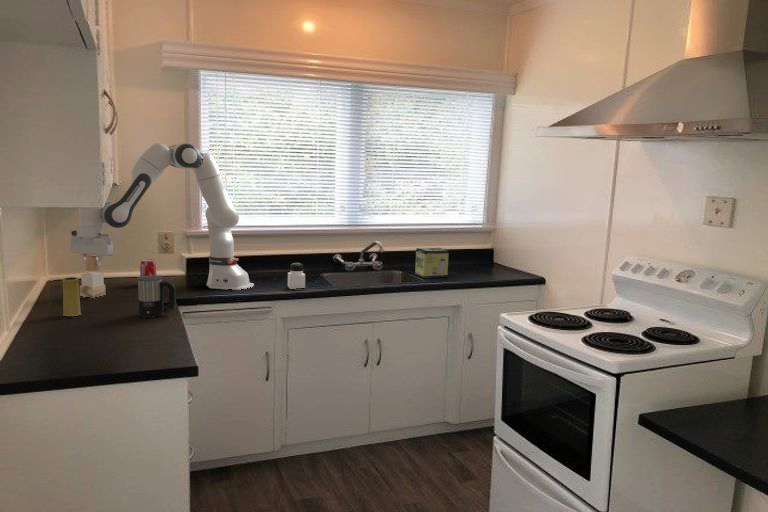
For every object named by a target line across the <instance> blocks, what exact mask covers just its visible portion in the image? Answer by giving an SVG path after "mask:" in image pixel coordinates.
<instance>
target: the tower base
mask: <svg viewBox="0 0 768 512" xmlns="http://www.w3.org/2000/svg"><path fill="white" fill-rule="evenodd" d="M106 292H107V291H106V284H104V285H100V286H95V287H88V286H82V284H81V285H80V284H79V296H83V297H82V298H85V297H91V298H90V299H92V298H94V299H96V298H95V297H98V298H100V297H99V296H102V297H104V296H103V295H107V294H106Z"/></svg>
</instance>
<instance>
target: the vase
mask: <svg viewBox="0 0 768 512" xmlns="http://www.w3.org/2000/svg"><path fill="white" fill-rule="evenodd" d="M79 280H80V279H79V277H76V276H75V277H74V276H70V277H63V278H62V297H63V298H62V299H63V300H62V301H63V303H62V306H63V309H62V310H63V311H62V312H63V313H62V317H63V316H78V315H82V312H81V300H80V299H81V297H80V283H79V282H80V281H79Z"/></svg>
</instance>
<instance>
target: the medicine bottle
mask: <svg viewBox="0 0 768 512" xmlns="http://www.w3.org/2000/svg"><path fill="white" fill-rule="evenodd" d="M289 266H290V268H289V269H290V270H289V271H290V272H287V287H288V289H290V290H291V289H295V290H297V289H296V288H305V289H306V273H304V264H303V263H300V262H294V263H291V264H290V265H289Z"/></svg>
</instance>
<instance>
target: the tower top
mask: <svg viewBox="0 0 768 512" xmlns="http://www.w3.org/2000/svg"><path fill="white" fill-rule="evenodd" d="M80 277H81V285H82V286H88V287H95V286H100V285H104V283H105V282H104V281H105V280H104V279H105V277H104V273H103V272H99V271H98V272H96V271H89V272H84V273H81V276H80Z"/></svg>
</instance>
